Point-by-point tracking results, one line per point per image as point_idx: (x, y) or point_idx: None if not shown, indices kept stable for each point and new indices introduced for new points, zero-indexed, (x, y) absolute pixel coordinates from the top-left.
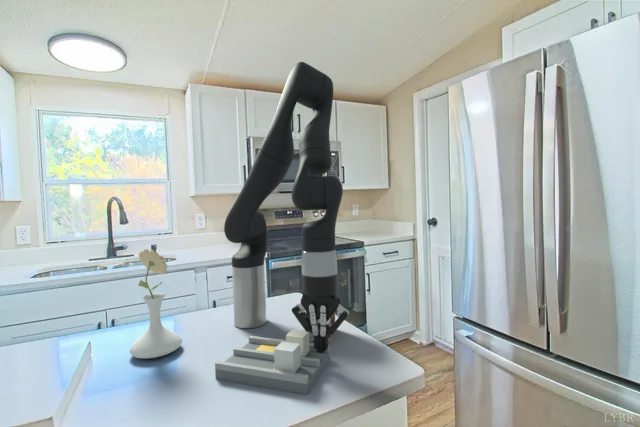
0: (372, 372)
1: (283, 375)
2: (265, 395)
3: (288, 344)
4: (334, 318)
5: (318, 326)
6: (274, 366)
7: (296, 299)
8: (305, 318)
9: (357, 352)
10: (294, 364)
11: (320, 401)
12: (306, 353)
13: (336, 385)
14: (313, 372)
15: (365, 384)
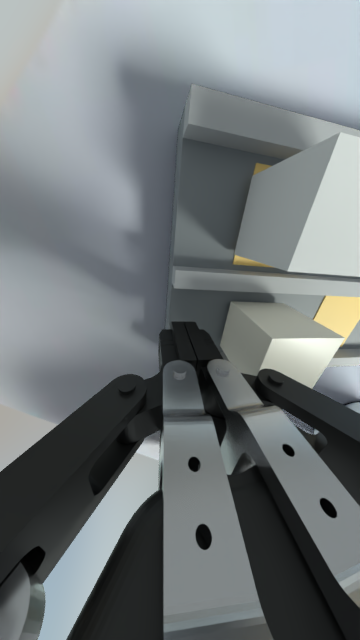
0: (22, 318)
1: (297, 118)
2: (316, 98)
3: (348, 249)
4: None
5: (218, 418)
6: None
7: None
8: (326, 449)
9: None
10: (267, 185)
11: (114, 78)
12: (226, 325)
13: (98, 219)
14: (180, 222)
15: (6, 245)
